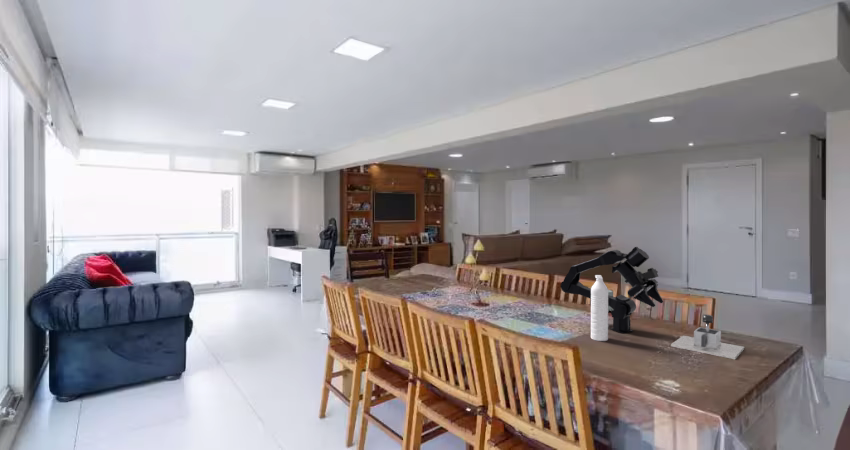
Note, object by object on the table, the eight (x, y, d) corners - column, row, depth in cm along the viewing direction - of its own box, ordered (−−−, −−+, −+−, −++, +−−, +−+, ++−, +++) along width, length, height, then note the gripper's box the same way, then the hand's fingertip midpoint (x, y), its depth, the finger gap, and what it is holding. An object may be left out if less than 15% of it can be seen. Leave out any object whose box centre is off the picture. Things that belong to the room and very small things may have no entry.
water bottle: (609, 341, 168) (609, 278, 167) (591, 340, 170) (591, 278, 169) (606, 335, 176) (606, 275, 175) (589, 334, 178) (589, 274, 177)
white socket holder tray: (671, 346, 162) (671, 329, 162) (683, 337, 172) (683, 322, 172) (735, 359, 148) (735, 341, 147) (744, 348, 158) (744, 332, 158)
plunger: (696, 343, 160) (697, 315, 160) (700, 340, 164) (701, 313, 163) (713, 347, 156) (714, 318, 156) (717, 343, 160) (718, 315, 159)
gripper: (636, 264, 168) (666, 296, 161) (652, 259, 181) (681, 288, 174) (615, 281, 174) (644, 313, 167) (633, 276, 187) (660, 305, 180)
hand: (658, 304), depth 172 cm, fingers open, 9 cm apart
